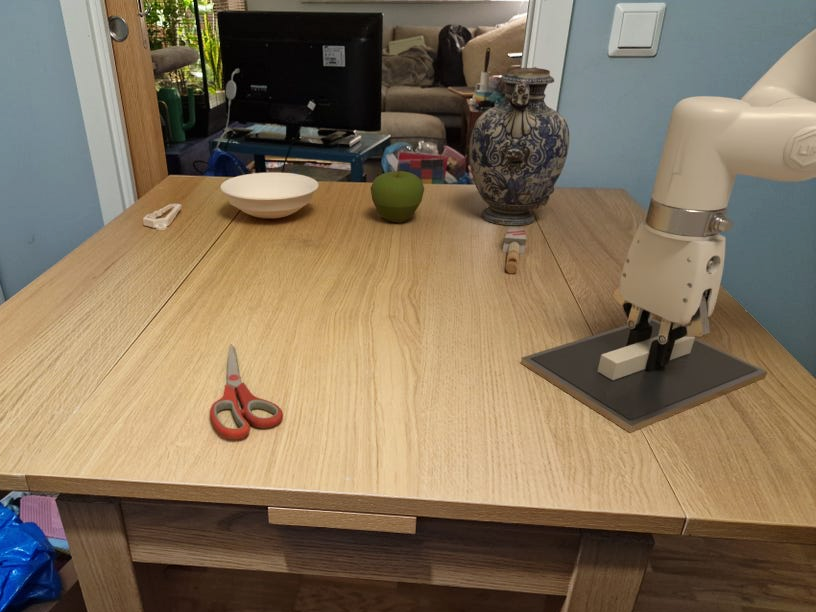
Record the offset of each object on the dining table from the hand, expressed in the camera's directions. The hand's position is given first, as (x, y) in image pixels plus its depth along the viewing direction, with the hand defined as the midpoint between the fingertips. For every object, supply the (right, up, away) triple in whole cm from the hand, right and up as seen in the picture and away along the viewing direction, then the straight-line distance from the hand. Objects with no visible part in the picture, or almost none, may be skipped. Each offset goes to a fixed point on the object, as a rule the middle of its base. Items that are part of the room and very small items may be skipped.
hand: (645, 361), depth 82 cm
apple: (-26, +28, +52) cm, 65 cm away
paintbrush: (-7, +19, +36) cm, 41 cm away
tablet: (0, -1, 0) cm, 1 cm away
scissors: (-51, -4, -4) cm, 51 cm away
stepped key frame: (-74, +28, +52) cm, 95 cm away
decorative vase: (-3, +29, +54) cm, 61 cm away
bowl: (-52, +30, +55) cm, 81 cm away
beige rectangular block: (0, 0, 0) cm, 0 cm away
